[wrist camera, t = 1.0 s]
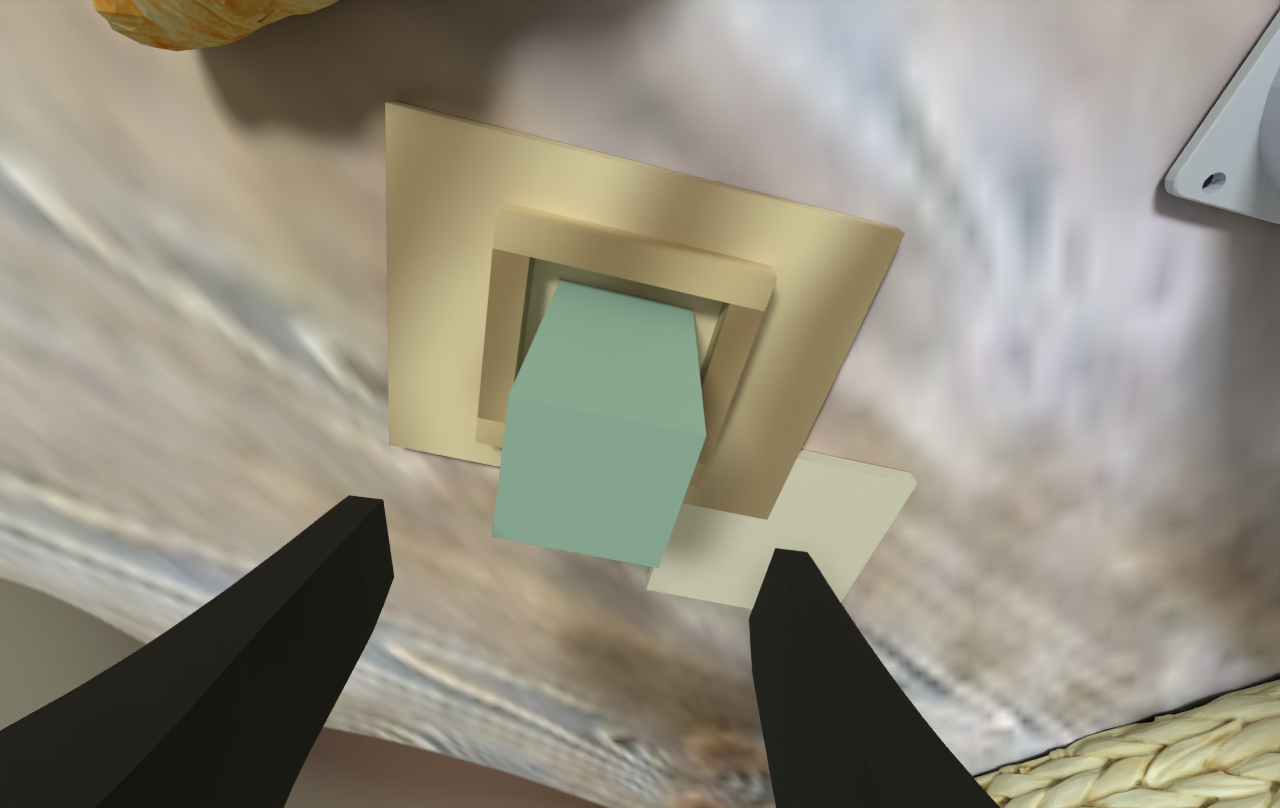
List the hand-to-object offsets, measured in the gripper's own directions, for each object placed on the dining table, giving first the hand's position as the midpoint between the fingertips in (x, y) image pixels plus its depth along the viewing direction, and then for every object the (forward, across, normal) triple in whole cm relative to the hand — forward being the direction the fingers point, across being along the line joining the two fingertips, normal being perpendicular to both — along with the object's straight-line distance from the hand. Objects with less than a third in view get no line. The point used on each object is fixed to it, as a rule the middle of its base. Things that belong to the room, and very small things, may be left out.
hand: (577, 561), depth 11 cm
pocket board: (+9, 0, 0) cm, 9 cm away
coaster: (+9, -7, +7) cm, 13 cm away
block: (+8, 0, 0) cm, 8 cm away
